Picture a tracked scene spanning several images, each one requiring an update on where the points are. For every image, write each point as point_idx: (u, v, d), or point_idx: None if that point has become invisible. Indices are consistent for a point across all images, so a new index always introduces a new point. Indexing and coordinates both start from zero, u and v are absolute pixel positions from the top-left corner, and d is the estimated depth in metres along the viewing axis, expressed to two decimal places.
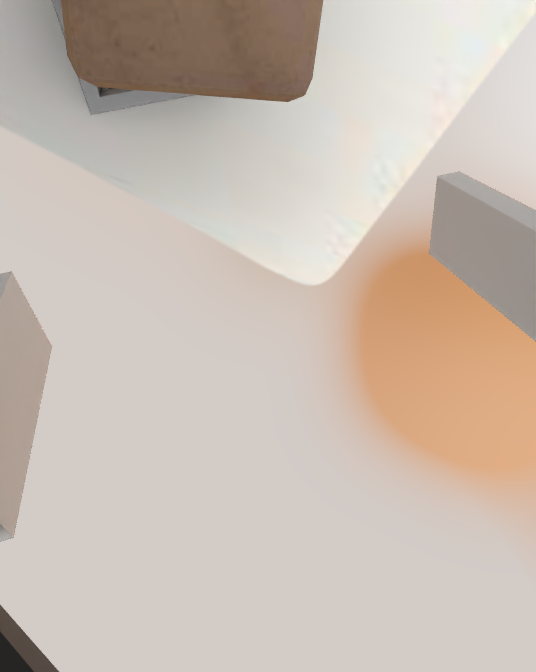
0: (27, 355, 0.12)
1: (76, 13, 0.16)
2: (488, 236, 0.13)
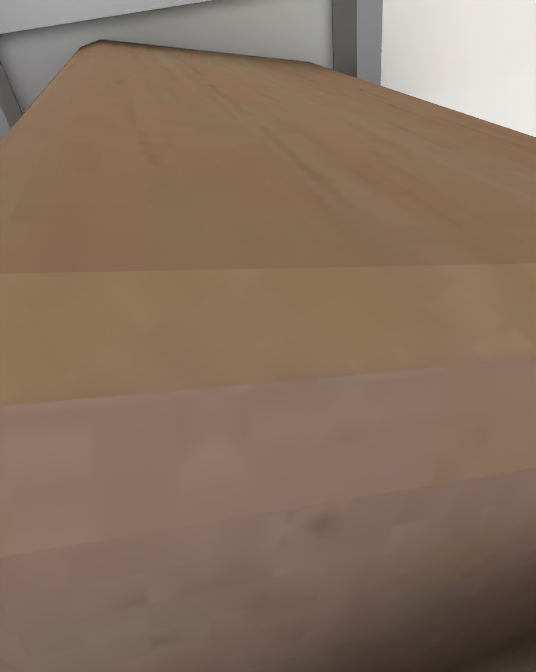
0: None
1: None
2: None
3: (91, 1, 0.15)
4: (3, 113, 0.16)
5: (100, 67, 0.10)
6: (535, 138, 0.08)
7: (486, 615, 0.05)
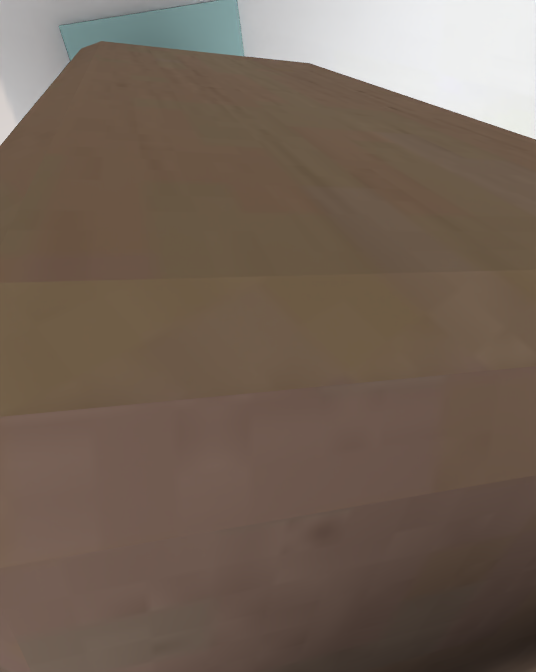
0: None
1: None
2: None
3: None
4: None
5: (100, 69, 0.10)
6: None
7: (487, 620, 0.05)
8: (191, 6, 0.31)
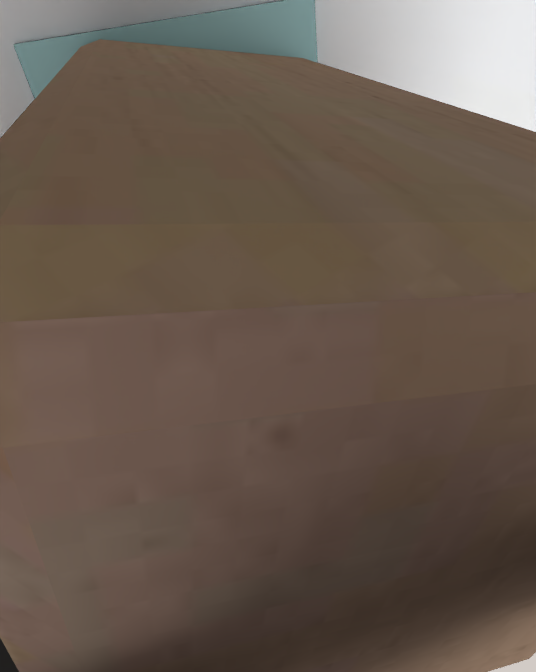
0: None
1: None
2: None
3: None
4: None
5: (98, 64, 0.10)
6: (507, 124, 0.09)
7: (445, 546, 0.05)
8: (239, 10, 0.18)
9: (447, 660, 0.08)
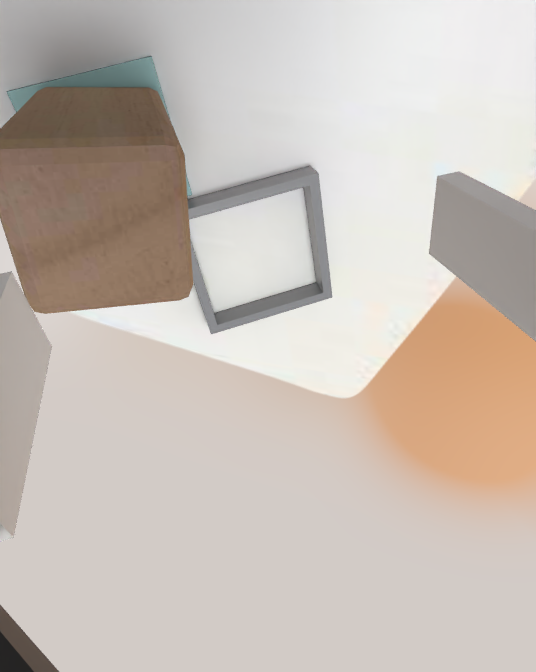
0: (27, 355, 0.12)
1: (157, 299, 0.29)
2: (488, 236, 0.13)
3: (318, 220, 0.48)
4: (289, 190, 0.45)
5: (33, 105, 0.30)
6: (156, 117, 0.28)
7: (95, 210, 0.24)
8: (114, 66, 0.38)
9: (135, 275, 0.27)
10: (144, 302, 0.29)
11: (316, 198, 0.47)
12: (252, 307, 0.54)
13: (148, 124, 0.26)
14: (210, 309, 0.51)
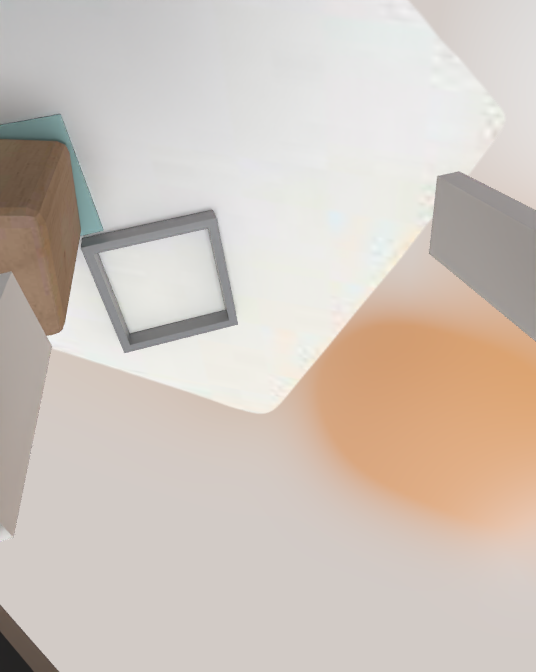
0: (27, 355, 0.12)
1: None
2: (488, 236, 0.13)
3: (219, 257, 0.54)
4: None
5: None
6: (35, 183, 0.34)
7: None
8: (26, 122, 0.43)
9: None
10: None
11: (216, 239, 0.53)
12: (164, 330, 0.60)
13: (22, 192, 0.32)
14: (122, 331, 0.56)
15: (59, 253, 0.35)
